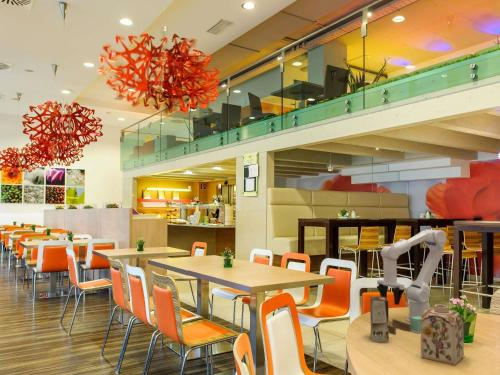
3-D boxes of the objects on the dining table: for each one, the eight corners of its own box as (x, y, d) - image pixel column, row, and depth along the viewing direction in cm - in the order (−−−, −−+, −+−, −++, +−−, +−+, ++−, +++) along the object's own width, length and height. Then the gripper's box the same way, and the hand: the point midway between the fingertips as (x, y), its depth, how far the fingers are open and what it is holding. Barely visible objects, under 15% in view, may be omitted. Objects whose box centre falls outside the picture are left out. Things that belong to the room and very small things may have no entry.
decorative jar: (430, 349, 159) (429, 300, 160) (464, 356, 152) (463, 305, 153) (420, 358, 150) (419, 306, 151) (455, 366, 143) (454, 311, 143)
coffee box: (389, 342, 167) (388, 301, 168) (372, 341, 168) (371, 300, 169) (386, 336, 176) (386, 296, 176) (370, 335, 177) (370, 295, 178)
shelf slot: (394, 326, 190) (394, 319, 191) (410, 331, 182) (410, 324, 183) (377, 329, 186) (377, 322, 186) (393, 334, 178) (393, 327, 178)
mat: (416, 327, 188) (416, 326, 188) (429, 331, 182) (429, 330, 182) (404, 329, 185) (404, 328, 185) (418, 333, 179) (418, 333, 179)
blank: (410, 329, 185) (410, 317, 185) (418, 327, 187) (418, 316, 187) (418, 331, 181) (417, 319, 181) (426, 329, 183) (425, 318, 184)
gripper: (372, 271, 200) (372, 300, 199) (396, 275, 187) (396, 307, 186) (383, 270, 203) (383, 299, 202) (407, 274, 190) (407, 305, 190)
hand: (390, 302), depth 195 cm, fingers open, 7 cm apart
